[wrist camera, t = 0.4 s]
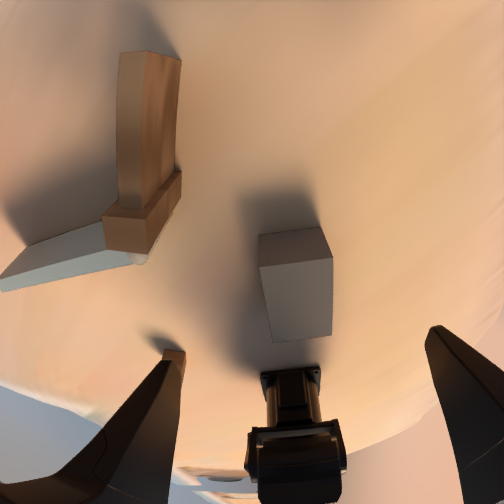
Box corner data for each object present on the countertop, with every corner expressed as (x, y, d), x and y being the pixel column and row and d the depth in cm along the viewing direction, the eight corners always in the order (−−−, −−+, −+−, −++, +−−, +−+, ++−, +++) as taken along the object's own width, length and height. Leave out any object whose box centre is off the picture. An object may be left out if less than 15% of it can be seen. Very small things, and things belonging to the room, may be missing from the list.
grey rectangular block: (323, 299, 24) (331, 335, 20) (271, 306, 24) (272, 342, 21) (320, 225, 20) (333, 257, 17) (258, 233, 20) (258, 267, 17)
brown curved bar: (154, 61, 14) (98, 53, 8) (189, 60, 14) (149, 47, 8) (166, 359, 28) (152, 416, 22) (186, 362, 28) (175, 420, 23)
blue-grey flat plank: (169, 200, 19) (141, 243, 14) (175, 216, 19) (150, 262, 15) (26, 247, 21) (-7, 282, 16) (32, 257, 21) (1, 294, 17)
